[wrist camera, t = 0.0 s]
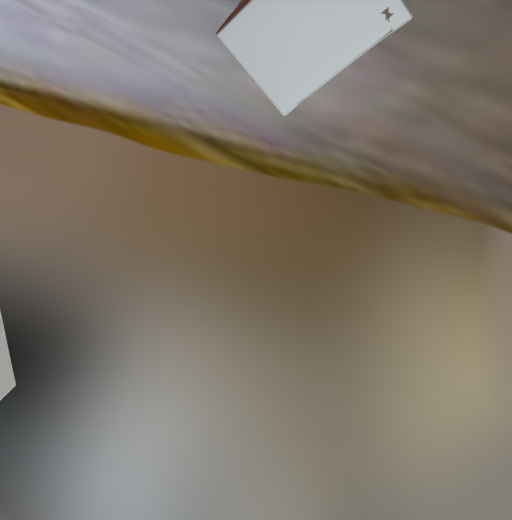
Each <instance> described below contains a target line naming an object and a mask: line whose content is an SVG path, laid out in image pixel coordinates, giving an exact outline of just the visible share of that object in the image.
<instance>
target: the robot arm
mask: <svg viewBox="0 0 512 520" xmlns="http://www.w3.org/2000/svg"><path fill="white" fill-rule="evenodd" d="M15 386H16V384H15V380H14V375H13V370H12V365H11V360H10V356H9V350H8V346H7V341H6V336H5V332H4V326H3V321H2V317H1V312H0V400H1V399H2V398H3V397H4V396H5V395H6V394H7V393H8V392H9V391H10V390H11V389H12V388H13V387H15Z"/></svg>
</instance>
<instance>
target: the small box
mask: <svg viewBox="0 0 512 520" xmlns="http://www.w3.org/2000/svg"><path fill="white" fill-rule="evenodd" d="M411 19H412V10H411V7H410V4H409V1H408V0H242V1H241V2H240V3H239V5H238V6H237V8H236V9H235V10H234V11H233V12H232V13H231V15H230V16H229V17H228V18H227V20H226V21H225V22H224V23H223V25H222V26H221V27H220V29H219V30H218V31H217V33H216V36H217V37H218V38H219V40H220V41H221V42H222V43H223V44H224V46H225V47H226V48H227V49H228V50H229V52H230V53H231V54H232V55H233V56H234V58H235V59H236V60H237V61H238V63H239V64H240V65H241V66H242V67H243V69H244V70H245V71H246V72H247V73H248V75H249V76H250V77H251V78H252V79H253V81H254V82H255V83H256V84H257V85H258V87H259V88H260V89H261V90H262V91H263V93H264V94H265V95H266V96H267V97H268V99H269V100H270V101H271V102H272V103H273V105H274V106H275V107H276V108H277V109H278V111H279V112H280V113H281V114H282V115H283V116H286V115H287V114H288V113H289V112H291V111H292V110H293V109H294V108H295V107H296V106H298V105H299V104H300V103H301V102H302V101H304V100H305V99H306V98H307V97H308V96H310V95H311V94H312V93H313V92H315V91H316V90H317V89H319V88H320V87H321V86H322V85H324V84H325V83H326V82H328V81H329V80H330V79H331V78H333V77H334V76H335V75H336V74H338V73H339V72H340V71H342V70H343V69H344V68H346V67H347V66H348V65H349V64H351V63H352V62H353V61H355V60H356V59H357V58H359V57H360V56H361V55H362V54H364V53H365V52H366V51H368V50H369V49H370V48H372V47H373V46H374V45H376V44H377V43H378V42H380V41H381V40H382V39H384V38H385V37H386V36H388V35H389V34H391V33H392V32H394V31H395V30H397V29H398V28H400V27H401V26H402V25H404V24H405V23H407V22H408V21H409V20H411Z"/></svg>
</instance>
